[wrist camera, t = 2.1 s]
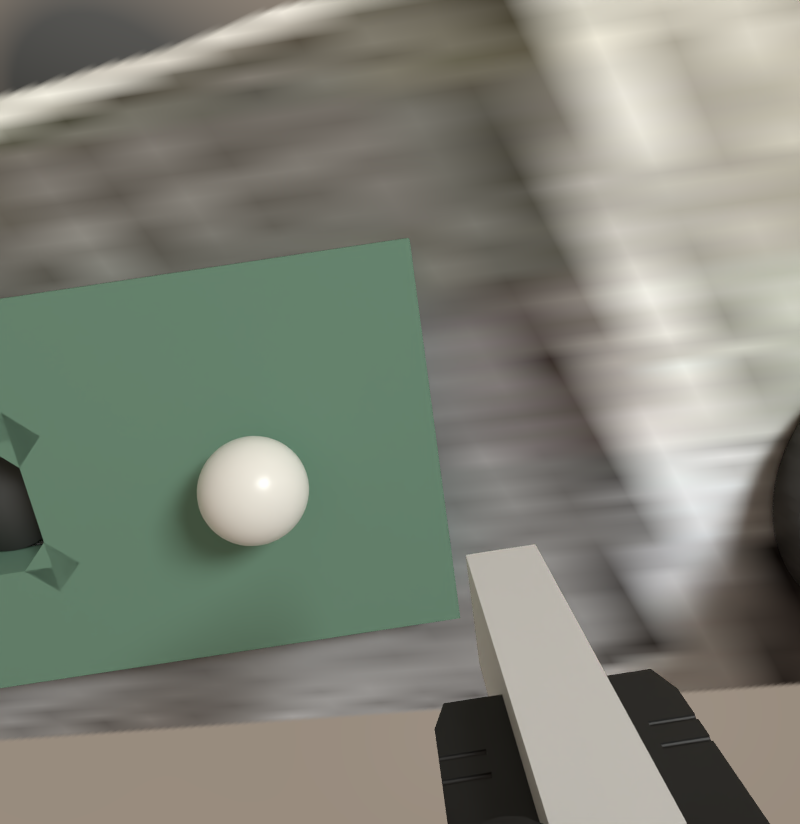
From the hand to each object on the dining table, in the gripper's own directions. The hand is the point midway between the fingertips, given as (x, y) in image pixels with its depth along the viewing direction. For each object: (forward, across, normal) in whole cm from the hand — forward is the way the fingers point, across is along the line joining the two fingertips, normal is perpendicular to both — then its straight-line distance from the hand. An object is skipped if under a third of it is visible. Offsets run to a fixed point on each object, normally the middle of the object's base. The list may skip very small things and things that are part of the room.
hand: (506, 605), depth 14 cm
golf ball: (+10, +7, 0) cm, 12 cm away
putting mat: (+14, +13, 0) cm, 20 cm away
